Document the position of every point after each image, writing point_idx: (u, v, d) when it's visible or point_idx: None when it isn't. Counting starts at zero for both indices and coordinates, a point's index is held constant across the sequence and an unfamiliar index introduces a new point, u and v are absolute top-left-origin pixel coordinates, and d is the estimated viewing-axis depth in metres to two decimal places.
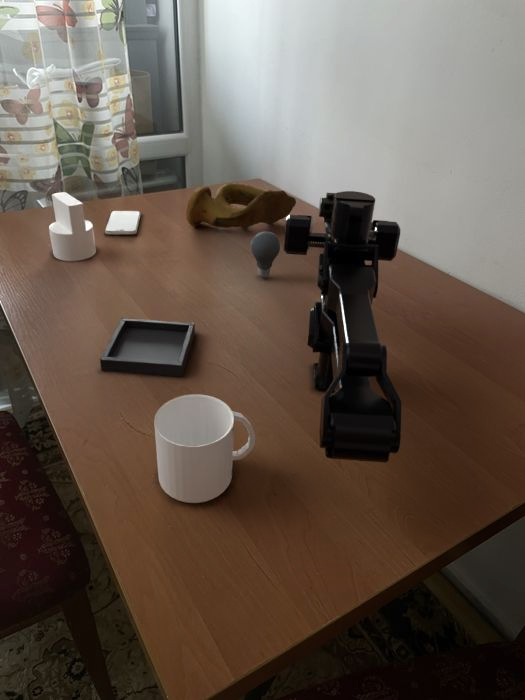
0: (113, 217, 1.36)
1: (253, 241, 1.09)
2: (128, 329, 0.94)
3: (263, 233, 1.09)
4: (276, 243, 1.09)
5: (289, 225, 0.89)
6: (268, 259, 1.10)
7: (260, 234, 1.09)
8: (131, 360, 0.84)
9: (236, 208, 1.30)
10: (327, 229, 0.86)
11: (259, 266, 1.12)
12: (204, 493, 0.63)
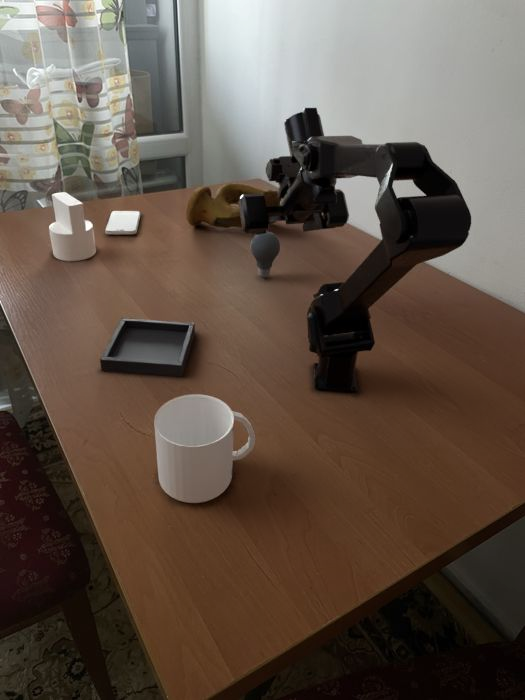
0: (113, 217, 1.36)
1: (253, 241, 1.09)
2: (128, 329, 0.94)
3: None
4: (276, 243, 1.09)
5: (244, 196, 0.89)
6: (268, 259, 1.10)
7: None
8: (131, 360, 0.84)
9: (236, 208, 1.30)
10: (282, 184, 0.89)
11: (259, 266, 1.12)
12: (204, 493, 0.63)
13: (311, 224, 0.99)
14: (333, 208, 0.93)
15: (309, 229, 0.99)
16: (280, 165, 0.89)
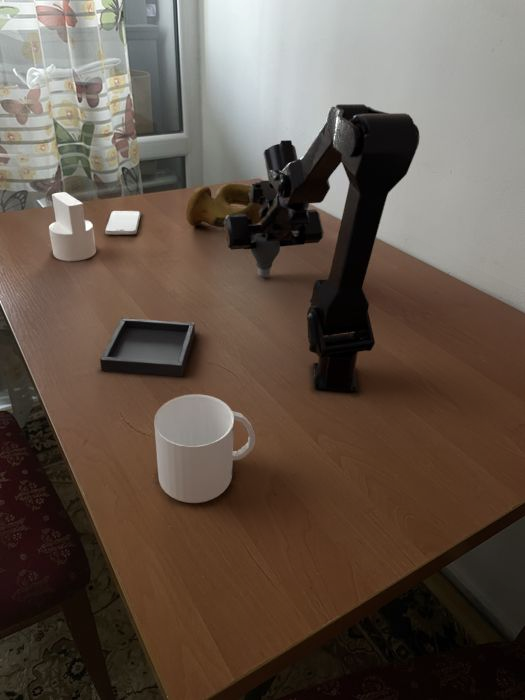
0: (113, 217, 1.36)
1: None
2: (128, 329, 0.94)
3: None
4: (276, 243, 1.09)
5: (229, 217, 1.00)
6: (268, 259, 1.10)
7: None
8: (131, 360, 0.84)
9: (236, 208, 1.30)
10: (263, 206, 1.00)
11: (259, 266, 1.12)
12: (204, 493, 0.63)
13: (283, 240, 1.09)
14: (309, 226, 1.04)
15: (282, 245, 1.10)
16: (261, 189, 1.00)
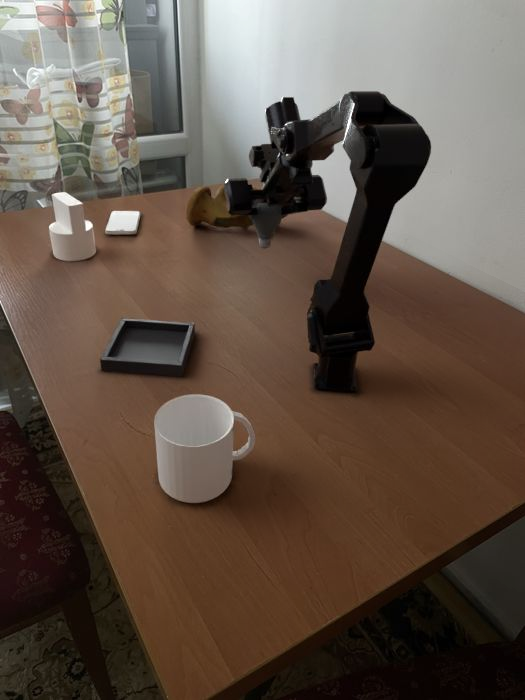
0: (113, 217, 1.36)
1: None
2: (128, 329, 0.94)
3: None
4: (278, 211, 1.05)
5: (229, 181, 0.97)
6: (270, 228, 1.06)
7: None
8: (131, 360, 0.84)
9: None
10: (264, 169, 0.96)
11: (260, 236, 1.08)
12: (204, 493, 0.63)
13: (285, 208, 1.05)
14: (312, 192, 1.00)
15: (284, 213, 1.06)
16: (262, 151, 0.96)
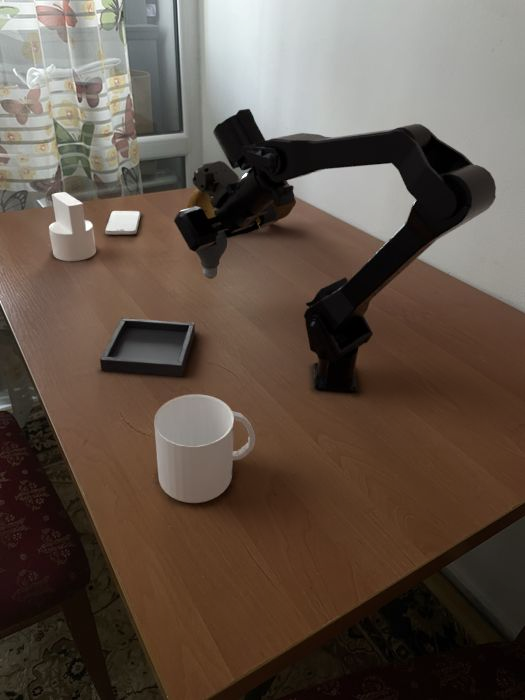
0: (113, 217, 1.36)
1: None
2: (128, 329, 0.94)
3: None
4: (224, 235, 0.93)
5: (185, 213, 0.82)
6: (219, 255, 0.94)
7: None
8: (131, 360, 0.84)
9: None
10: (219, 193, 0.84)
11: (207, 266, 0.95)
12: (204, 493, 0.63)
13: None
14: None
15: (228, 236, 0.95)
16: (212, 173, 0.83)
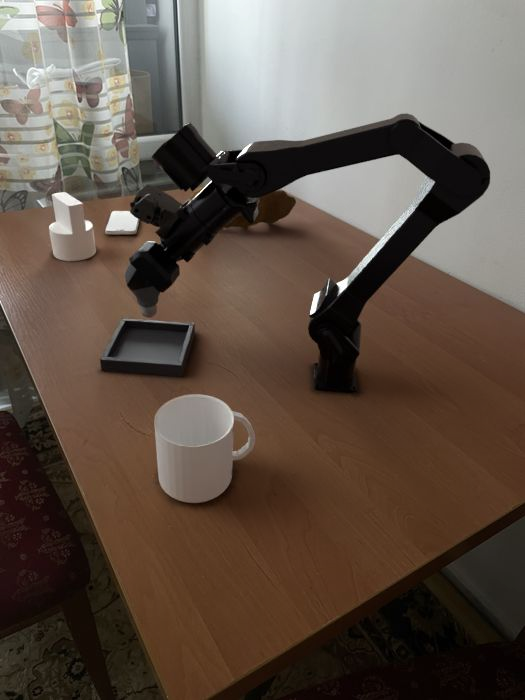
0: (113, 217, 1.36)
1: None
2: (128, 329, 0.94)
3: None
4: None
5: (146, 252, 0.70)
6: None
7: None
8: (131, 360, 0.84)
9: None
10: (169, 221, 0.74)
11: (149, 304, 0.83)
12: (204, 493, 0.63)
13: None
14: None
15: None
16: (156, 200, 0.72)
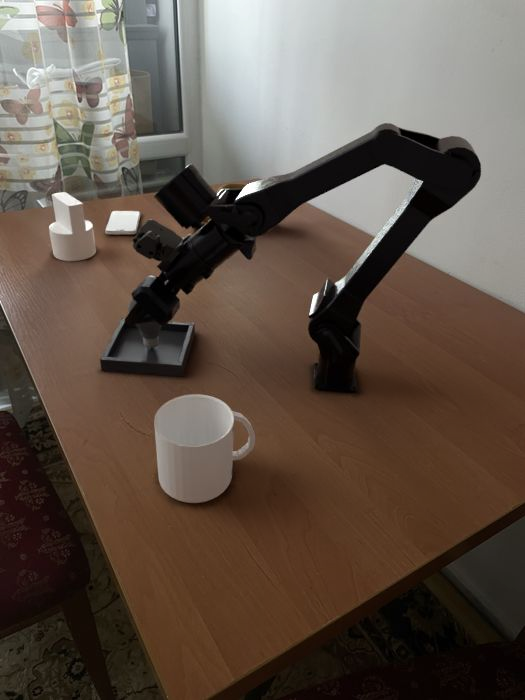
0: (113, 217, 1.36)
1: None
2: (128, 329, 0.94)
3: None
4: None
5: (148, 287, 0.73)
6: None
7: None
8: (131, 360, 0.84)
9: None
10: (170, 256, 0.76)
11: (152, 336, 0.86)
12: (204, 493, 0.63)
13: None
14: None
15: None
16: (158, 237, 0.75)
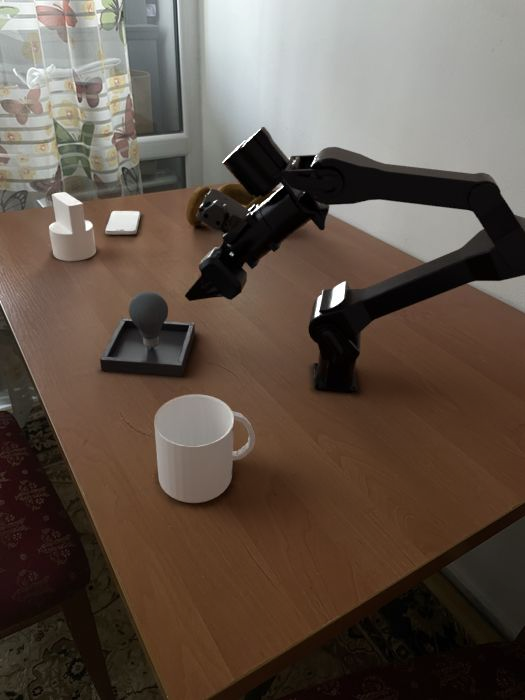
0: (113, 217, 1.36)
1: (142, 311, 0.83)
2: (128, 329, 0.94)
3: (146, 296, 0.83)
4: None
5: (217, 258, 0.69)
6: None
7: (145, 299, 0.83)
8: (131, 360, 0.84)
9: None
10: (237, 227, 0.72)
11: (152, 336, 0.86)
12: (204, 493, 0.63)
13: None
14: None
15: None
16: (226, 206, 0.71)
